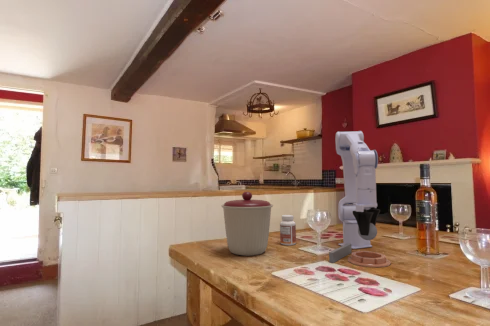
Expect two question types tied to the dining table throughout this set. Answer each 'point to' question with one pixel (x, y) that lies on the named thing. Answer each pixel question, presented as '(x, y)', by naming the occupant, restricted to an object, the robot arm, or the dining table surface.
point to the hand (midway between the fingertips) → (367, 233)
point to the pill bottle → (287, 230)
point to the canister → (247, 225)
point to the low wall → (340, 253)
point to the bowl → (368, 259)
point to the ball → (371, 233)
